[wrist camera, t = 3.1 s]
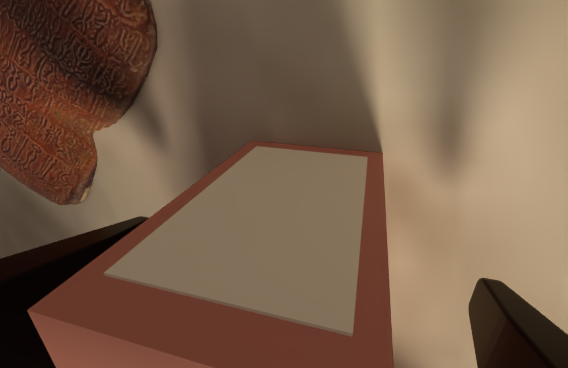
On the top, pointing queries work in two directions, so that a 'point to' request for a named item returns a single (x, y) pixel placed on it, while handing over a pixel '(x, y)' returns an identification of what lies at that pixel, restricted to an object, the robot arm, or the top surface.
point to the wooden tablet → (67, 86)
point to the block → (240, 273)
